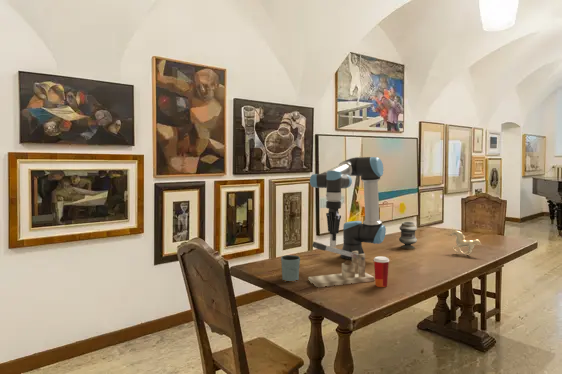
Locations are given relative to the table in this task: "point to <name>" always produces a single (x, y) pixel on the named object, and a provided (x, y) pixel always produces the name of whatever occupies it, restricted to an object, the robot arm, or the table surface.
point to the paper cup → (381, 271)
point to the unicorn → (464, 242)
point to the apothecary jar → (408, 235)
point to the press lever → (334, 250)
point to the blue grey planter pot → (290, 267)
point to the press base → (342, 279)
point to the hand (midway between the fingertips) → (332, 246)
